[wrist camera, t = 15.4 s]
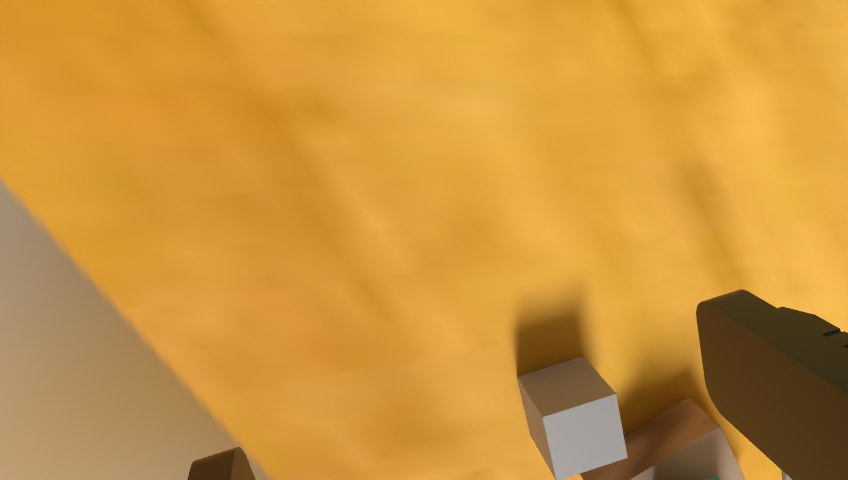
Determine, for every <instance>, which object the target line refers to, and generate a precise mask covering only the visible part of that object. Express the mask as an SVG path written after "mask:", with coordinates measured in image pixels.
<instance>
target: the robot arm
mask: <svg viewBox="0 0 848 480" xmlns="http://www.w3.org/2000/svg"><path fill="white" fill-rule="evenodd" d="M696 316H697V325H698V332H699V340H700V347H701V354H702V362H703V369H704V377H705V383H706V387H707V390H708V393H709V395H710V397H711V399H712V401H713V403H714V405H715V407H716V408H717V410H718V411H719V412H720V413H721V415H722V416H723V417H724V418H725V419H727V420H728V421H729V422H730V423H731V424H732V425H733V426H734V427H735V428H736V429H737V430H739V431H740V432H741V433H742V434H743V435H744V436H745V437H746V438H747V439H748V440H749V441H751V442H752V443H753V444H754V445H755V446H756V447H757V448H758V449H759V450H760V451H762V452H763V453H764V454H765V455H766V456H767V457H768V458H769V459H770V460H771V461H772V462H774V463H775V464H776V465H777V466H778V467H779V468H780V469H781V470H782V471H783V472H785V473H786V474H787V475H788V476H789V477H790V478H791V479H792V480H848V333H847V332H845V331H844V332H841V331H840V329H839V328H838V327H836V326H834V325H832V324H830V323H829V322H827V321H825V320H823V319H821V318H820V317H818V316H816V315H813V314H809V313H805V312H801V311H797V310H793V309H789V308H786V307H780V308H776V307H774V306H772V305H770V304H769V303H767V302H765V301H764V300H762V299H760V298H758V297H757V296H755V295H753V294H752V293H750V292H748V291H746V290H737V291H734V292H731V293H728V294H725V295H722V296H718V297H715V298H712V299H709V300H706V301H703V302H700V303H699V304H698V306H697V311H696ZM188 480H255V477H254V475H253V472H252V470H251V467H250V465H249V462H248V460H247V457H246V455H245V453H244V452H243V450H242V449H241V448H240V447H237V448H234V449H230V450H227V451H224V452H221V453H218V454H214V455H212V456H208V457H205V458H202V459H199V460H196V461H194V462H193V463H192V465H191V468H190V472H189V476H188Z"/></svg>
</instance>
